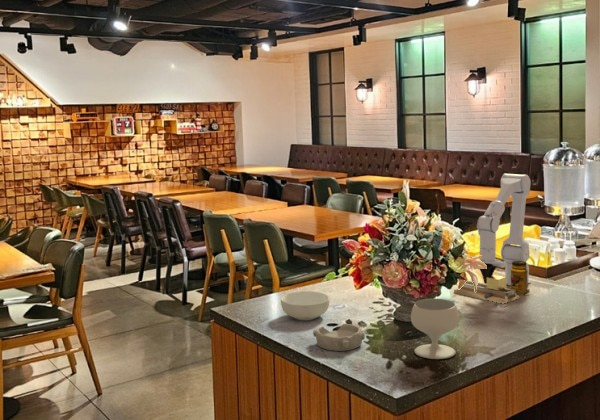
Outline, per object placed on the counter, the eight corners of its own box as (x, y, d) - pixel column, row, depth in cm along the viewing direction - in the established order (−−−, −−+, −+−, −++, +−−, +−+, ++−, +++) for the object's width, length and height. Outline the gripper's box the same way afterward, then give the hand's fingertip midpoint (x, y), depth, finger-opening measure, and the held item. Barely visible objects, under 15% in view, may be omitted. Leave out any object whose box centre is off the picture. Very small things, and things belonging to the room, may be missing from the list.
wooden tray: (471, 287, 279) (471, 278, 279) (520, 298, 263) (520, 288, 262) (452, 293, 272) (452, 284, 271) (502, 304, 255) (502, 295, 255)
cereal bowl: (274, 322, 243) (273, 302, 242) (291, 308, 258) (290, 289, 257) (321, 326, 237) (320, 305, 236) (335, 312, 253) (335, 292, 251)
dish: (308, 344, 221) (307, 328, 220) (342, 334, 229) (342, 319, 228) (336, 357, 209) (336, 340, 208) (372, 346, 217) (372, 330, 216)
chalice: (401, 349, 213) (401, 301, 210) (440, 341, 219) (440, 294, 216) (429, 364, 200) (429, 313, 198) (468, 356, 206) (469, 306, 204)
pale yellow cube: (494, 288, 267) (494, 275, 266) (505, 291, 263) (506, 277, 262) (486, 291, 264) (486, 277, 263) (498, 293, 260) (498, 279, 259)
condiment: (508, 294, 268) (509, 263, 266) (510, 288, 276) (510, 258, 274) (528, 295, 266) (529, 264, 264) (529, 289, 274) (530, 259, 272)
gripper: (465, 246, 267) (464, 281, 269) (498, 252, 256) (497, 288, 258) (476, 244, 271) (476, 278, 273) (509, 249, 260) (508, 285, 262)
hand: (487, 283), depth 266 cm, fingers closed
